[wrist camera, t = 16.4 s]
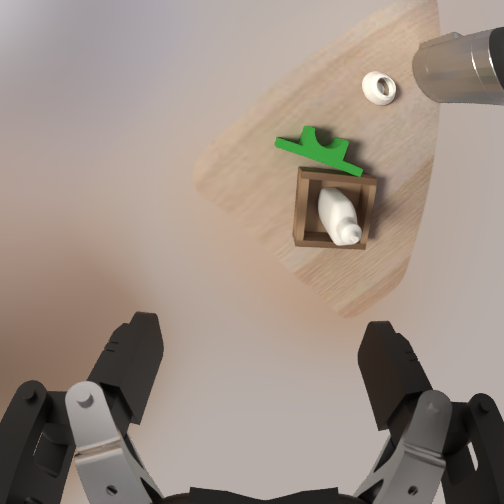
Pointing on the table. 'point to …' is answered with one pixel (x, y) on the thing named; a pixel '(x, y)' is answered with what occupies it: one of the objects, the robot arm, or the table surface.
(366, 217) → the box
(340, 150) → the pipe clamp
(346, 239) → the eye dropper bottle
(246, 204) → the table surface
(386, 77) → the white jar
